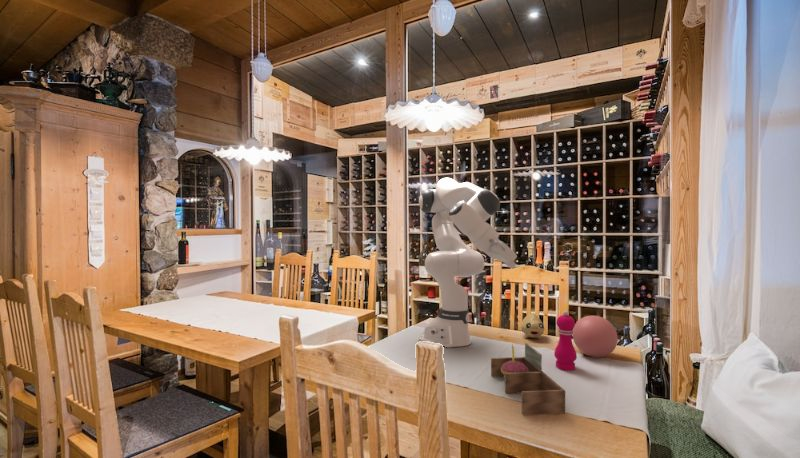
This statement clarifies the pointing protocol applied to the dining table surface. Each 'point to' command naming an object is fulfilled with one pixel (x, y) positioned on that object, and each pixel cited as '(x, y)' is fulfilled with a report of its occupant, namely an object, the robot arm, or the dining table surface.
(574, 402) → the dining table surface
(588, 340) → the balloon
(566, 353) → the pepper mill
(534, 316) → the beige toy head
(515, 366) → the cupcake
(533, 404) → the walnut rack
